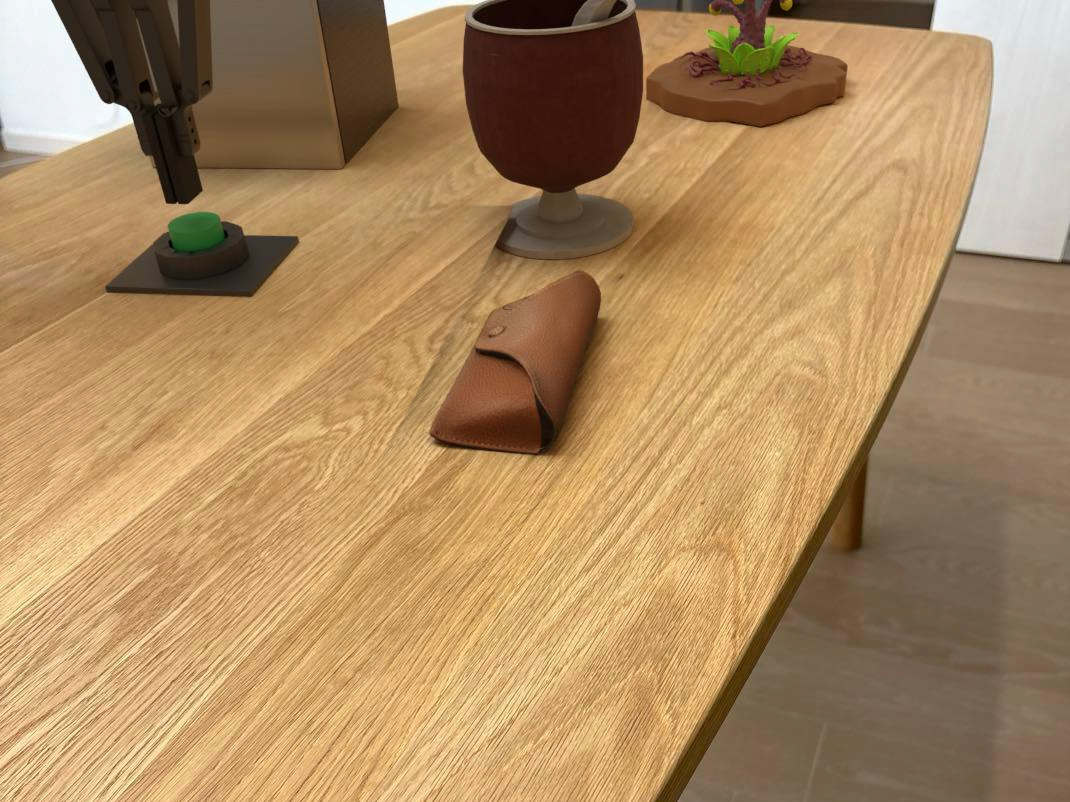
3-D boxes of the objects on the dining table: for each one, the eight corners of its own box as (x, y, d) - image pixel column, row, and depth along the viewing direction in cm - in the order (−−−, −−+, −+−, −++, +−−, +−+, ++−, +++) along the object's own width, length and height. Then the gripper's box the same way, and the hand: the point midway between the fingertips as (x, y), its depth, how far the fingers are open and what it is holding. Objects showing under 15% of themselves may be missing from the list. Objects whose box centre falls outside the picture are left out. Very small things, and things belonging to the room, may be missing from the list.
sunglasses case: (487, 305, 79) (527, 231, 75) (570, 351, 80) (614, 281, 76) (422, 441, 65) (467, 360, 61) (524, 494, 66) (574, 419, 62)
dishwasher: (346, 165, 106) (296, -122, 91) (158, 164, 110) (79, -111, 94) (399, 107, 119) (362, -150, 104) (230, 108, 123) (171, -140, 108)
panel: (113, 312, 83) (96, 264, 81) (171, 257, 91) (157, 212, 88) (256, 317, 81) (244, 268, 78) (303, 261, 88) (293, 214, 86)
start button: (164, 253, 82) (158, 231, 81) (187, 232, 85) (181, 211, 84) (212, 254, 82) (206, 232, 81) (233, 233, 85) (228, 212, 84)
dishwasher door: (320, 191, 100) (263, -105, 85) (124, 188, 104) (36, -95, 89) (345, 164, 106) (295, -119, 90) (157, 163, 109) (79, -109, 94)
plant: (614, 105, 115) (612, -9, 108) (715, 59, 126) (719, -47, 119) (777, 136, 105) (786, 12, 98) (871, 83, 116) (886, -32, 109)
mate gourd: (446, 232, 91) (415, -28, 79) (566, 185, 98) (555, -61, 85) (567, 285, 82) (554, 0, 69) (692, 230, 88) (699, -40, 76)
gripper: (-46, -161, 65) (80, 214, 80) (155, -170, 62) (246, 219, 77) (22, -176, 71) (128, 177, 85) (209, -185, 68) (284, 180, 83)
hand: (184, 196), depth 81 cm, fingers closed
